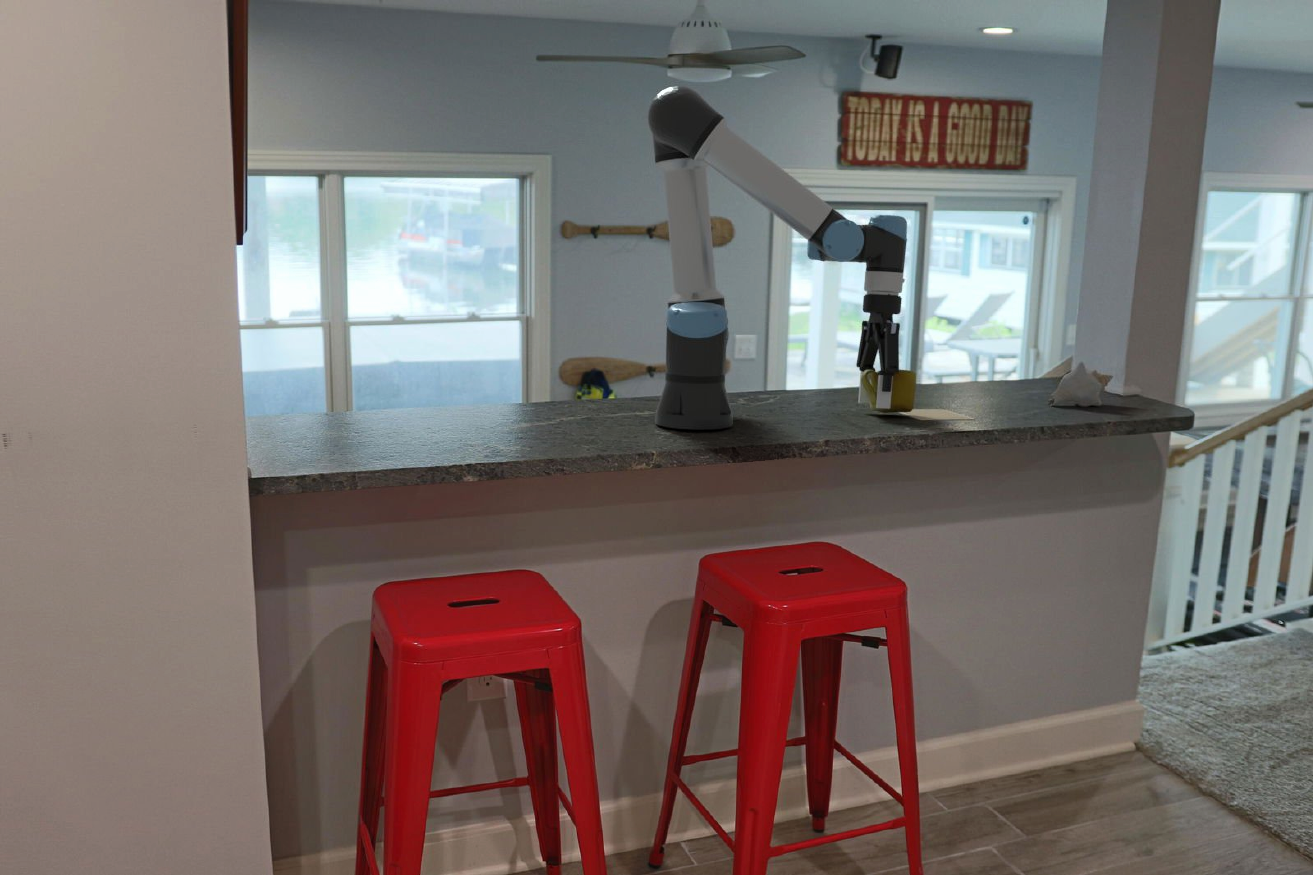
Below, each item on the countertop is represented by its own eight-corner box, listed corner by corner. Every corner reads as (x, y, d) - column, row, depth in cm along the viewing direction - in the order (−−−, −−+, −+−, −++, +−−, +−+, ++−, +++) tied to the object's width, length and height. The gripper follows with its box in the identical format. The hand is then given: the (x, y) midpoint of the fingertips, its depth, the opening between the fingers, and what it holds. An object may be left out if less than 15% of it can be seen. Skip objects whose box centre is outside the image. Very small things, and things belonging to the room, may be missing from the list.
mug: (900, 410, 232) (903, 363, 230) (924, 419, 222) (928, 370, 220) (846, 411, 229) (849, 363, 227) (868, 421, 219) (872, 371, 217)
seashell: (1062, 426, 253) (1101, 373, 253) (1092, 435, 243) (1132, 380, 243) (1031, 397, 248) (1070, 344, 249) (1060, 405, 239) (1100, 349, 239)
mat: (920, 420, 221) (920, 418, 221) (891, 410, 234) (891, 409, 234) (975, 419, 223) (975, 418, 223) (943, 410, 237) (943, 409, 237)
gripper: (923, 295, 212) (913, 412, 215) (879, 294, 233) (870, 401, 236) (886, 293, 211) (877, 410, 213) (845, 292, 232) (837, 399, 234)
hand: (873, 405), depth 225 cm, fingers open, 9 cm apart
